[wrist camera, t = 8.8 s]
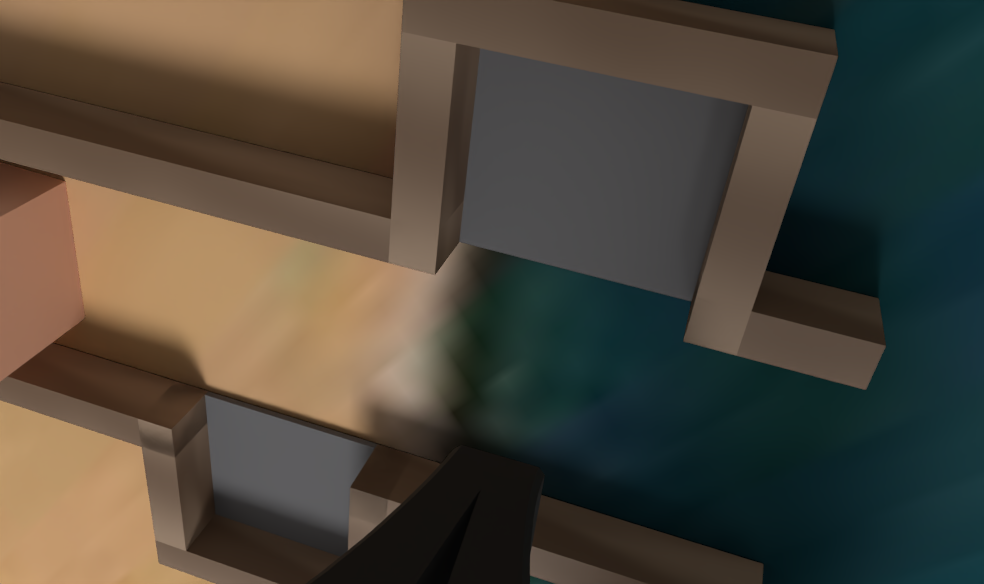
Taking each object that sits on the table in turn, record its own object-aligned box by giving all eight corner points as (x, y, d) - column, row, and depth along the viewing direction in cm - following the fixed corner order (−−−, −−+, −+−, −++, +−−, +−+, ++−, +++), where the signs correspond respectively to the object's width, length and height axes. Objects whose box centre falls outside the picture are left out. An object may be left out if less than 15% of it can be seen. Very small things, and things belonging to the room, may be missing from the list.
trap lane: (704, 699, 28) (696, 775, 26) (-61, 435, 34) (-118, 479, 32) (983, 57, 16) (1010, 98, 14) (-256, -178, 22) (-368, -173, 20)
